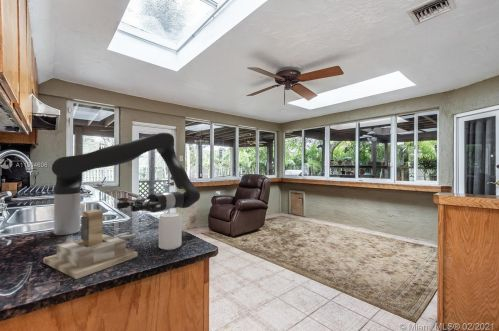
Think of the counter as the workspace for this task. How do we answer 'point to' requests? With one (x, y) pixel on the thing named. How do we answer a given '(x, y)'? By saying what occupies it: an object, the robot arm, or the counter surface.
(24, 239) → the counter surface
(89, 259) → the wooden socket base
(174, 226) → the beverage can
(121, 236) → the adjustable wrench
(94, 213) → the tan long rectangular block
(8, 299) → the counter surface
